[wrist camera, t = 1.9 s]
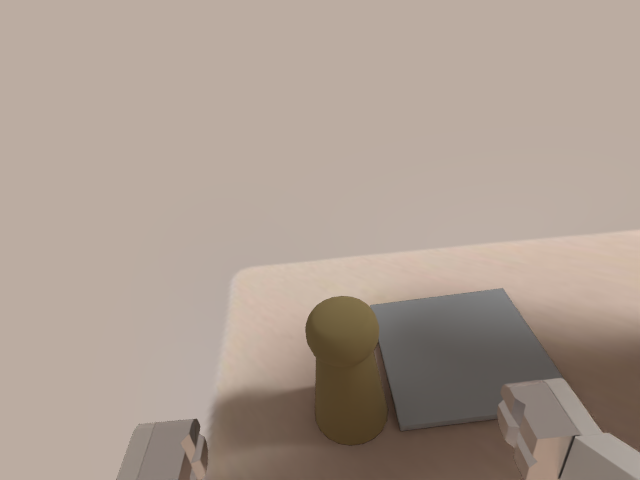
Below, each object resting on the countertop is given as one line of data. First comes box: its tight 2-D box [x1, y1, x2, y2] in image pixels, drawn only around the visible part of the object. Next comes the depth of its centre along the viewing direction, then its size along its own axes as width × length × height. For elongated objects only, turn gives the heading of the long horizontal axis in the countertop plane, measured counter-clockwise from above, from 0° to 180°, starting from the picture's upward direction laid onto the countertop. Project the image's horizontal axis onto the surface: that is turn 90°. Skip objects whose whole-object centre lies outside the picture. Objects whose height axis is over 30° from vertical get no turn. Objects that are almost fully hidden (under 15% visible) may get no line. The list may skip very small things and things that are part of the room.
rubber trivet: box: [370, 288, 565, 431], centre depth 39 cm, size 14×14×1 cm
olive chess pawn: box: [306, 296, 388, 445], centre depth 32 cm, size 6×6×11 cm
